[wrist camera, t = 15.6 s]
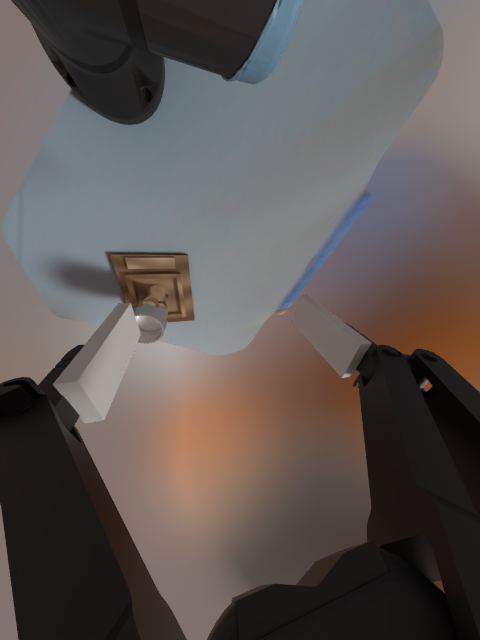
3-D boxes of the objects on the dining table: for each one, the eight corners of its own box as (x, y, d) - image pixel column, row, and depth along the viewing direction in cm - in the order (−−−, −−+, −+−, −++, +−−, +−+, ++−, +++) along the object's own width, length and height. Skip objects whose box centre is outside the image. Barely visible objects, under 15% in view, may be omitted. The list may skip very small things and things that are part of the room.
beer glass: (143, 306, 44) (123, 343, 31) (143, 280, 40) (121, 310, 28) (171, 309, 46) (163, 345, 34) (174, 285, 43) (166, 316, 30)
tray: (111, 253, 37) (107, 256, 35) (187, 254, 41) (187, 256, 39) (134, 322, 47) (131, 327, 45) (194, 318, 50) (194, 322, 48)
